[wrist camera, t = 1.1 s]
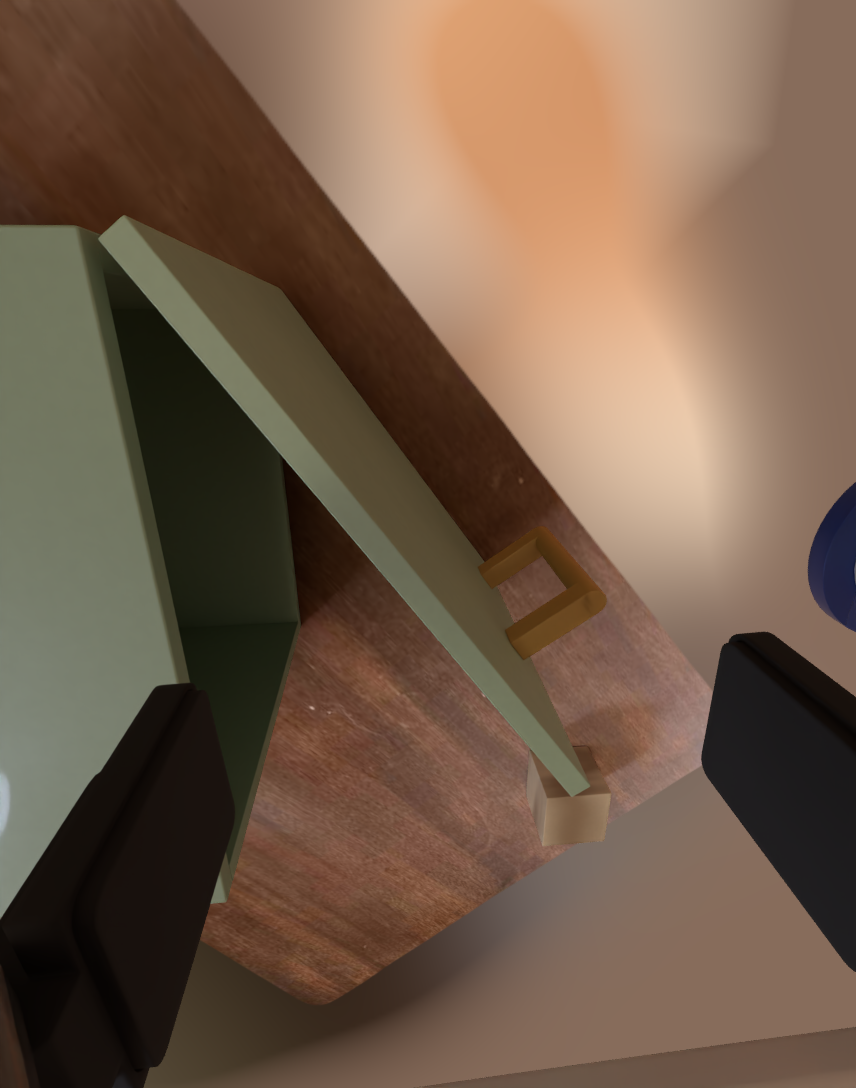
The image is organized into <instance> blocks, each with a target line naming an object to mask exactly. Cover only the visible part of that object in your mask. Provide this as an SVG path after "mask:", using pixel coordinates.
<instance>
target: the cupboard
mask: <svg viewBox="0 0 856 1088" xmlns="http://www.w3.org/2000/svg"><path fill="white" fill-rule="evenodd" d="M100 236H101V234H98V233H95V232H92V231H90V230H87V229H84V228H81V227H79V226H76V225H0V919H1V917H2V916H3V914H4V913H5V911H6V910H7V908H8V906H9V905H10V903H11V902H12V900H13V899H14V897H15V896H16V894H17V893H18V891H19V890H20V888H21V886H22V885H23V883H24V882H25V880H26V879H27V877H28V876H29V874H30V873H31V871H32V870H33V868H34V866H35V865H36V863H37V862H38V860H39V859H40V857H41V856H42V854H43V853H44V851H45V850H46V848H47V847H48V845H49V843H50V842H51V840H52V839H53V837H54V836H55V834H56V833H57V831H58V830H59V828H60V827H61V825H62V823H63V822H64V820H65V819H66V817H67V816H68V814H69V813H70V811H71V810H72V808H73V807H74V805H75V803H76V802H77V800H78V799H79V797H80V796H81V794H82V793H83V791H84V790H85V788H86V787H87V785H88V783H89V782H90V781H91V780H92V779H93V777H94V776H95V775H96V774H98V773H99V772H101V770H102V768H103V767H104V765H105V764H106V762H107V761H108V759H109V758H110V756H111V754H112V753H113V751H114V750H115V748H116V747H117V745H118V743H119V742H120V740H121V739H122V737H123V736H124V734H125V733H126V731H127V729H128V728H129V726H130V725H131V723H132V722H133V720H134V718H135V717H136V715H137V714H138V712H139V711H140V709H141V708H142V706H143V704H144V703H145V701H146V700H147V698H148V697H149V695H150V693H151V692H152V690H153V689H154V688H155V687H156V686H159V685H168V684H179V683H190V682H191V683H193V684H194V685H195V686H196V688H197V690H205V691H206V693H207V695H208V698H209V702H210V706H211V710H212V714H213V719H214V723H215V727H216V731H217V735H218V739H219V743H220V747H221V751H222V755H223V759H224V763H225V768H226V772H227V776H228V780H229V784H230V788H231V792H232V796H233V800H234V805H235V820H234V826H233V830H232V833H231V836H230V840H229V843H228V846H227V850H226V853H225V856H224V860H223V863H222V866H221V870H220V873H219V877H218V880H217V883H216V887H215V890H214V893H213V897H212V900H211V903H221V902H226V901H227V899H228V895H229V892H230V888H231V884H232V881H233V878H234V874H235V870H236V867H237V863H238V859H239V855H240V852H241V848H242V844H243V840H244V837H245V833H246V829H247V825H248V822H249V818H250V814H251V811H252V807H253V803H254V799H255V796H256V792H257V788H258V784H259V781H260V777H261V773H262V769H263V766H264V762H265V758H266V755H267V751H268V747H269V743H270V740H271V736H272V732H273V728H274V725H275V721H276V717H277V713H278V710H279V706H280V702H281V699H282V695H283V691H284V687H285V684H286V680H287V676H288V672H289V669H290V665H291V661H292V657H293V654H294V650H295V646H296V643H297V639H298V635H299V631H300V628H301V621H300V612H299V604H298V595H297V586H296V577H295V568H294V559H293V551H292V542H291V533H290V524H289V515H288V506H287V498H286V489H285V480H284V471H283V462H282V455H281V454H280V453H279V452H278V451H277V450H276V448H275V447H274V446H273V445H272V444H271V443H270V441H269V440H268V439H267V438H266V437H265V435H264V434H263V433H262V432H261V431H260V430H259V428H258V427H257V426H256V425H255V424H254V423H253V421H252V420H251V419H250V418H249V417H248V415H247V414H246V413H245V412H244V411H243V410H242V408H241V407H240V406H239V405H238V404H237V403H236V401H235V400H234V399H233V398H232V397H231V395H230V394H229V393H228V392H227V391H226V390H225V388H224V387H223V386H222V385H221V384H220V382H219V381H218V380H217V379H216V378H215V377H214V375H213V374H212V373H211V372H210V371H209V370H208V368H207V367H206V366H205V365H204V364H203V362H202V361H201V360H200V359H199V358H198V357H197V355H196V354H195V353H194V352H193V351H192V350H191V348H190V347H189V346H188V345H187V344H186V342H185V341H184V340H183V339H182V338H181V337H180V335H179V334H178V333H177V332H176V331H175V329H174V328H173V327H172V326H171V325H170V324H169V322H168V321H167V320H166V319H165V318H164V317H163V315H162V314H161V313H160V312H159V311H158V309H157V308H156V307H155V306H154V305H153V304H152V302H151V301H150V300H149V299H148V298H147V297H146V295H145V294H144V293H143V292H142V291H141V289H140V288H139V287H138V286H137V285H136V284H135V282H134V281H133V280H132V279H131V278H130V276H129V275H128V274H127V273H126V272H125V271H124V269H123V268H122V267H121V266H120V265H119V264H118V262H117V261H116V260H115V259H114V258H113V256H112V255H111V254H110V253H109V252H108V251H107V249H106V248H105V247H104V246H103V245H102V244H101V242H100V241H99V239H98V238H99V237H100Z"/></svg>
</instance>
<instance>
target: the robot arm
mask: <svg viewBox="0 0 856 1088" xmlns="http://www.w3.org/2000/svg"><path fill="white" fill-rule="evenodd" d="M854 573H855V583H856V563H855V569H854ZM701 760H702V766H703V769H704V771H705V774H706V776H707V777H708V779H709V780H710V781H711V783H712V784H713V785H714V787H715V788H716V790H717V791H718V792H719V793H720V795H721V796H722V798H723V799H724V800H725V802H726V803H727V804H728V806H729V807H730V808H731V810H732V811H733V812H734V814H735V815H736V817H737V818H738V819H739V820H740V822H741V823H742V825H743V826H744V827H745V829H746V830H747V831H748V833H749V834H750V835H751V837H752V838H753V839H754V841H755V842H756V844H757V845H758V846H759V847H760V849H761V850H762V852H763V853H764V854H765V856H766V857H767V858H768V860H769V861H770V862H771V864H772V865H773V866H774V868H775V869H776V870H777V872H778V873H779V874H780V876H781V877H782V879H783V880H784V881H785V883H786V884H787V885H788V887H789V888H790V889H791V891H792V892H793V893H794V895H795V896H796V897H797V899H798V900H799V901H800V903H801V904H802V905H803V907H804V908H805V910H806V911H807V912H808V914H809V915H810V916H811V917H812V919H813V920H814V922H815V923H816V924H817V926H818V927H819V928H820V930H821V931H822V933H823V934H824V935H825V937H826V938H827V939H828V941H829V942H830V943H831V945H832V946H833V947H834V949H835V950H836V951H837V953H838V954H839V955H840V956H841V958H842V959H843V961H844V962H845V963H846V964H847V965H848V966H849V967H850V968H851V969H852V970H853V971H855V972H856V697H855V696H854V695H852V694H851V693H850V692H848V691H847V690H845V689H844V688H843V687H842V686H840V685H839V684H838V683H836V682H835V681H834V680H833V679H831V678H830V677H829V676H827V675H826V674H825V673H823V672H822V671H821V670H819V669H818V668H817V667H815V666H814V665H813V664H811V663H810V662H809V661H808V660H806V659H805V658H804V657H802V656H801V655H800V654H798V653H797V652H796V651H794V650H793V649H792V648H790V647H789V646H788V645H787V644H785V643H784V642H783V641H781V640H780V639H779V638H777V637H776V636H775V635H773V634H771V633H769V632H756V633H744V634H736V635H733V636H732V637H731V638H730V640H729V643H726V644H724V645H723V647H722V649H721V653H720V659H719V664H718V669H717V675H716V680H715V686H714V691H713V696H712V701H711V707H710V712H709V717H708V723H707V728H706V734H705V739H704V744H703V750H702V756H701ZM234 820H235V805H234V800H233V796H232V792H231V788H230V784H229V780H228V776H227V772H226V768H225V763H224V759H223V755H222V751H221V747H220V743H219V739H218V735H217V731H216V727H215V723H214V719H213V714H212V710H211V706H210V702H209V698H208V695H207V693H206V691H205V690H197V688H196V686H195V685H194V684H193V683H191V682H190V683H179V684H168V685H159V686H156V687H155V688H154V689H153V690H152V692H151V693H150V695H149V697H148V698H147V700H146V701H145V703H144V704H143V706H142V708H141V709H140V711H139V712H138V714H137V715H136V717H135V718H134V720H133V722H132V723H131V725H130V726H129V728H128V729H127V731H126V733H125V734H124V736H123V737H122V739H121V740H120V742H119V743H118V745H117V747H116V748H115V750H114V751H113V753H112V754H111V756H110V758H109V759H108V761H107V762H106V764H105V765H104V767H103V768H102V770H101V772H99V773H98V774H96V775H95V776H94V777H93V779H92V780H91V781H90V782H89V783H88V785H87V787H86V788H85V790H84V791H83V793H82V794H81V796H80V797H79V799H78V800H77V802H76V803H75V805H74V807H73V808H72V810H71V811H70V813H69V814H68V816H67V817H66V819H65V820H64V822H63V823H62V825H61V827H60V828H59V830H58V831H57V833H56V834H55V836H54V837H53V839H52V840H51V842H50V843H49V845H48V847H47V848H46V850H45V851H44V853H43V854H42V856H41V857H40V859H39V860H38V862H37V863H36V865H35V866H34V868H33V870H32V871H31V873H30V874H29V876H28V877H27V879H26V880H25V882H24V883H23V885H22V886H21V888H20V890H19V891H18V893H17V894H16V896H15V897H14V899H13V900H12V902H11V903H10V905H9V906H8V908H7V910H6V911H5V913H4V914H3V916H2V917H1V919H0V1088H143V1087H144V1084H145V1080H146V1077H147V1074H148V1071H149V1068H150V1067H157V1066H158V1065H159V1064H160V1063H161V1062H162V1060H163V1057H164V1056H165V1053H166V1050H167V1047H168V1044H169V1041H170V1037H171V1034H172V1031H173V1027H174V1024H175V1021H176V1017H177V1014H178V1010H179V1007H180V1004H181V1001H182V997H183V994H184V991H185V987H186V984H187V980H188V977H189V974H190V970H191V967H192V964H193V960H194V957H195V953H196V950H197V946H198V944H199V940H200V937H201V934H202V930H203V927H204V924H205V920H206V917H207V913H208V910H209V907H210V903H211V900H212V897H213V893H214V890H215V887H216V883H217V880H218V877H219V873H220V870H221V866H222V863H223V860H224V856H225V853H226V850H227V846H228V843H229V840H230V836H231V833H232V830H233V826H234ZM417 1088H856V1027H853V1028H845V1029H838V1030H830V1031H822V1032H816V1033H808V1034H801V1035H792V1036H785V1037H777V1038H769V1039H762V1040H754V1041H746V1042H739V1043H732V1044H724V1045H717V1046H710V1047H703V1048H695V1049H688V1050H681V1051H674V1052H666V1053H659V1054H651V1055H644V1056H637V1057H629V1058H622V1059H615V1060H608V1061H601V1062H594V1063H586V1064H579V1065H572V1066H565V1067H558V1068H550V1069H543V1070H536V1071H528V1072H521V1073H514V1074H507V1075H500V1076H493V1077H486V1078H479V1079H472V1080H465V1081H458V1082H451V1083H444V1084H437V1085H430V1086H424V1087H417Z"/></svg>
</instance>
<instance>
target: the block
mask: <svg viewBox="0 0 856 1088" xmlns="http://www.w3.org/2000/svg"><path fill="white" fill-rule="evenodd" d="M573 749H574V751H575V753H576V755H577V757H578V760H579V762H580V764H581V766H582V768H583V770H584V772H585V774H586V777H587V779H588V781H589V783H590V787H589V788H587V789H585V790H583V791H582V792H580V793H578V794H577V795H575V796H573V797H571V796H570V795H569V793H568V792H567V791H566V790H565V789H564V788H563V786H562V785H561V784H560V783H559V782H558V781H557V779H556V778H555V777H554V776H553V775H552V773H551V772H550V771H549V770H548V769H547V768H546V766H545V765H544V764H543V763H542V762H541V761H540V759H539V758H538V757H537V756H536V755H535V753H534V752H533V751H532V750H530V751H529V763H528V776H527V789H526V797H527V800H528V803H529V806H530V809H531V812H532V815H533V818H534V822H535V825H536V828H537V831H538V834H539V837H540V840H541V843H542V846H551V845H563V844H574V843H585V842H597V841H604V838H605V832H606V826H607V819H608V813H609V806H610V800H611V791H610V789H609V787H608V785H607V783H606V782H605V780H604V778H603V776H602V774H601V772H600V770H599V768H598V766H597V764H596V762H595V760H594V758H593V756H592V754H591V752H590V750H589V748H588V746H580V747H573Z"/></svg>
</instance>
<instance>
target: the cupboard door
mask: <svg viewBox="0 0 856 1088" xmlns="http://www.w3.org/2000/svg"><path fill="white" fill-rule="evenodd" d="M98 239H99V241H100V242H101V244H102V245H103V246H104V247H105V248H106V249H107V251H108V252H109V253H110V254H111V255H112V256H113V258H114V259H115V260H116V261H117V262H118V264H119V265H120V266H121V267H122V268H123V269H124V271H125V272H126V273H127V274H128V275H129V276H130V278H131V279H132V280H133V281H134V282H135V284H136V285H137V286H138V287H139V288H140V289H141V291H142V292H143V293H144V294H145V295H146V297H147V298H148V299H149V300H150V301H151V302H152V304H153V305H154V306H155V307H156V308H157V309H158V311H159V312H160V313H161V314H162V315H163V317H164V318H165V319H166V320H167V321H168V322H169V324H170V325H171V326H172V327H173V328H174V329H175V331H176V332H177V333H178V334H179V335H180V337H181V338H182V339H183V340H184V341H185V342H186V344H187V345H188V346H189V347H190V348H191V350H192V351H193V352H194V353H195V354H196V355H197V357H198V358H199V359H200V360H201V361H202V362H203V364H204V365H205V366H206V367H207V368H208V370H209V371H210V372H211V373H212V374H213V375H214V377H215V378H216V379H217V380H218V381H219V382H220V384H221V385H222V386H223V387H224V388H225V390H226V391H227V392H228V393H229V394H230V395H231V397H232V398H233V399H234V400H235V401H236V403H237V404H238V405H239V406H240V407H241V408H242V410H243V411H244V412H245V413H246V414H247V415H248V417H249V418H250V419H251V420H252V421H253V423H254V424H255V425H256V426H257V427H258V428H259V430H260V431H261V432H262V433H263V434H264V435H265V437H266V438H267V439H268V440H269V441H270V443H271V444H272V445H273V446H274V447H275V448H276V450H277V451H278V452H279V453H280V454H281V455H282V457H283V458H284V459H285V460H286V461H287V463H288V464H289V465H290V466H291V467H292V468H293V470H294V471H295V472H296V473H297V474H298V476H299V477H300V478H301V479H302V480H303V481H304V483H305V484H306V485H307V486H308V487H309V488H310V490H311V491H312V492H313V493H314V494H315V496H316V497H317V498H318V499H319V500H320V501H321V503H322V504H323V505H324V506H325V507H326V508H327V510H328V511H329V512H330V513H331V514H332V516H333V517H334V518H335V519H336V520H337V521H338V523H339V524H340V525H341V526H342V527H343V529H344V530H345V531H346V532H347V533H348V534H349V536H350V537H351V538H352V539H353V540H354V541H355V543H356V544H357V545H358V546H359V547H360V549H361V550H362V551H363V552H364V553H365V554H366V556H367V557H368V558H369V559H370V560H371V561H372V563H373V564H374V565H375V566H376V567H377V569H378V570H379V571H380V572H381V573H382V574H383V576H384V577H385V578H386V579H387V580H388V582H389V583H390V584H391V585H392V586H393V587H394V589H395V590H396V591H397V592H398V593H399V594H400V596H401V597H402V598H403V599H404V600H405V602H406V603H407V604H408V605H409V606H410V607H411V609H412V610H413V611H414V612H415V613H416V614H417V616H418V617H419V618H420V619H421V620H422V622H423V623H424V624H425V625H426V626H427V627H428V629H429V630H430V631H431V632H432V633H433V634H434V636H435V637H436V638H437V639H438V640H439V642H440V643H441V644H442V645H443V646H444V647H445V649H446V650H447V651H448V652H449V653H450V655H451V656H452V657H453V658H454V659H455V660H456V662H457V663H458V664H459V665H460V666H461V667H462V669H463V670H464V671H465V672H466V673H467V675H468V676H469V677H470V678H471V679H472V680H473V682H474V683H475V684H476V685H477V686H478V687H479V689H480V690H481V691H482V692H483V693H484V695H485V696H486V697H487V698H488V699H489V700H490V702H491V703H492V704H493V705H494V706H495V708H496V709H497V710H498V711H499V712H500V713H501V715H502V716H503V717H504V718H505V719H506V720H507V722H508V723H509V724H510V725H511V726H512V728H513V729H514V730H515V731H516V732H517V733H518V735H519V736H520V737H521V738H522V739H523V740H524V742H525V743H526V744H527V745H528V746H529V748H530V749H531V750H532V751H533V752H534V753H535V755H536V756H537V757H538V758H539V759H540V761H541V762H542V763H543V764H544V765H545V766H546V768H547V769H548V770H549V771H550V772H551V773H552V775H553V776H554V777H555V778H556V779H557V781H558V782H559V783H560V784H561V785H562V786H563V788H564V789H565V790H566V791H567V792H568V793H569V795H570V796H571V797H573V796H575V795H577V794H578V793H580V792H582V791H583V790H585V789H587V788H589V787H590V783H589V781H588V779H587V777H586V774H585V772H584V770H583V768H582V766H581V764H580V762H579V760H578V757H577V755H576V753H575V751H574V749H573V747H572V745H571V743H570V740H569V738H568V736H567V734H566V732H565V730H564V728H563V726H562V723H561V721H560V719H559V717H558V715H557V713H556V711H555V709H554V706H553V704H552V702H551V700H550V698H549V696H548V694H547V692H546V689H545V687H544V685H543V683H542V681H541V679H540V677H539V675H538V672H537V670H536V668H535V666H534V664H533V662H532V660H531V658H530V656H531V655H533V654H535V653H536V652H538V651H539V650H541V649H542V648H544V647H545V646H547V645H549V644H550V643H552V642H553V641H555V640H556V639H558V638H560V637H561V636H563V635H564V634H566V633H567V632H569V631H571V630H572V629H574V628H575V627H577V626H578V625H580V624H582V623H583V622H585V621H586V620H588V619H589V618H591V617H593V616H594V615H596V614H597V613H599V612H600V611H601V610H603V608H604V607H605V605H606V602H607V598H606V595H605V594H604V593H603V592H602V590H601V589H600V588H599V587H598V586H597V585H596V583H595V582H594V581H593V580H592V579H591V578H590V577H589V575H588V574H587V573H586V572H585V571H584V570H583V569H582V567H581V566H580V565H579V564H578V563H577V562H576V561H575V559H574V558H573V557H572V556H571V555H570V554H569V553H568V551H567V550H566V549H565V548H564V547H563V546H562V545H561V543H560V542H559V541H558V540H557V539H556V538H555V537H554V535H553V534H552V533H551V532H550V531H549V530H548V529H547V528H546V527H544V526H539V527H536V528H534V529H533V530H531V531H530V532H528V533H527V534H525V535H524V536H522V537H521V538H519V539H518V540H516V541H515V542H513V543H512V544H511V545H509V546H508V547H506V548H505V549H503V550H502V551H500V552H499V553H497V554H496V555H494V556H493V557H491V558H490V559H488V560H487V561H486V562H484V560H483V559H482V558H481V556H480V555H479V554H478V552H477V551H476V550H475V548H474V547H473V546H472V544H471V543H470V542H469V540H468V539H467V538H466V536H465V535H464V534H463V532H462V531H461V530H460V528H459V527H458V526H457V524H456V523H455V522H454V520H453V519H452V518H451V516H450V515H449V514H448V512H447V511H446V510H445V508H444V507H443V506H442V504H441V503H440V502H439V500H438V499H437V498H436V496H435V495H434V494H433V492H432V491H431V490H430V488H429V487H428V486H427V484H426V483H425V482H424V480H423V479H422V478H421V476H420V475H419V473H418V472H417V471H416V469H415V468H414V467H413V465H412V464H411V463H410V461H409V460H408V459H407V457H406V456H405V455H404V453H403V452H402V451H401V449H400V448H399V447H398V445H397V444H396V443H395V441H394V440H393V439H392V437H391V436H390V435H389V433H388V432H387V431H386V429H385V428H384V427H383V425H382V424H381V423H380V421H379V420H378V419H377V417H376V416H375V415H374V413H373V412H372V411H371V409H370V408H369V407H368V405H367V404H366V403H365V401H364V400H363V399H362V397H361V396H360V395H359V393H358V392H357V391H356V389H355V388H354V387H353V385H352V384H351V383H350V381H349V380H348V379H347V377H346V376H345V375H344V373H343V372H342V370H341V369H340V368H339V366H338V365H337V364H336V362H335V361H334V360H333V358H332V357H331V356H330V354H329V353H328V352H327V350H326V349H325V348H324V346H323V345H322V344H321V342H320V341H319V340H318V338H317V337H316V336H315V334H314V333H313V332H312V330H311V329H310V328H309V326H308V325H307V324H306V322H305V321H304V320H303V318H302V317H301V316H300V314H299V313H298V312H297V310H296V309H295V308H294V306H293V305H292V304H291V302H290V301H289V300H288V298H287V297H286V296H285V294H284V293H283V292H282V290H281V289H280V288H278V287H276V286H274V285H272V284H269V283H267V282H265V281H263V280H261V279H259V278H257V277H255V276H253V275H250V274H248V273H246V272H244V271H242V270H240V269H238V268H236V267H234V266H231V265H229V264H227V263H225V262H223V261H221V260H219V259H217V258H214V257H212V256H210V255H208V254H206V253H204V252H202V251H200V250H198V249H195V248H193V247H191V246H189V245H187V244H185V243H183V242H181V241H178V240H176V239H174V238H172V237H170V236H168V235H166V234H164V233H162V232H159V231H157V230H155V229H153V228H151V227H149V226H147V225H145V224H143V223H140V222H138V221H136V220H134V219H132V218H130V217H128V216H126V215H123V216H122V217H121V218H119V219H118V220H117V221H116V222H115V223H114V224H113V225H112V226H111V227H110V228H108V229H107V230H106V231H105V232H104V233H103V234H102V235H101V236H100V237H99V238H98ZM541 556H543V557H544V559H545V560H546V561H547V563H548V564H549V565H550V567H551V568H552V569H553V571H554V572H555V574H556V575H557V576H558V578H559V579H560V580H561V582H562V583H563V584H564V586H565V587H566V588H567V590H565V591H564V592H562V593H561V594H559V595H558V596H556V597H555V598H553V599H552V600H550V601H549V602H547V603H546V604H544V605H542V606H541V607H539V608H538V609H536V610H535V611H533V612H532V613H530V614H529V615H527V616H526V617H524V618H523V619H521V620H519V621H518V622H516V623H515V624H514V621H513V619H512V617H511V615H510V613H509V611H508V609H507V607H506V604H505V602H504V600H503V598H502V596H501V594H500V592H499V590H498V587H497V586H498V585H499V584H501V583H502V582H504V581H505V580H507V579H508V578H510V577H511V576H513V575H514V574H516V573H517V572H519V571H520V570H522V569H523V568H525V567H526V566H528V565H529V564H531V563H532V562H534V561H535V560H537V559H538V558H540V557H541Z"/></svg>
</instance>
